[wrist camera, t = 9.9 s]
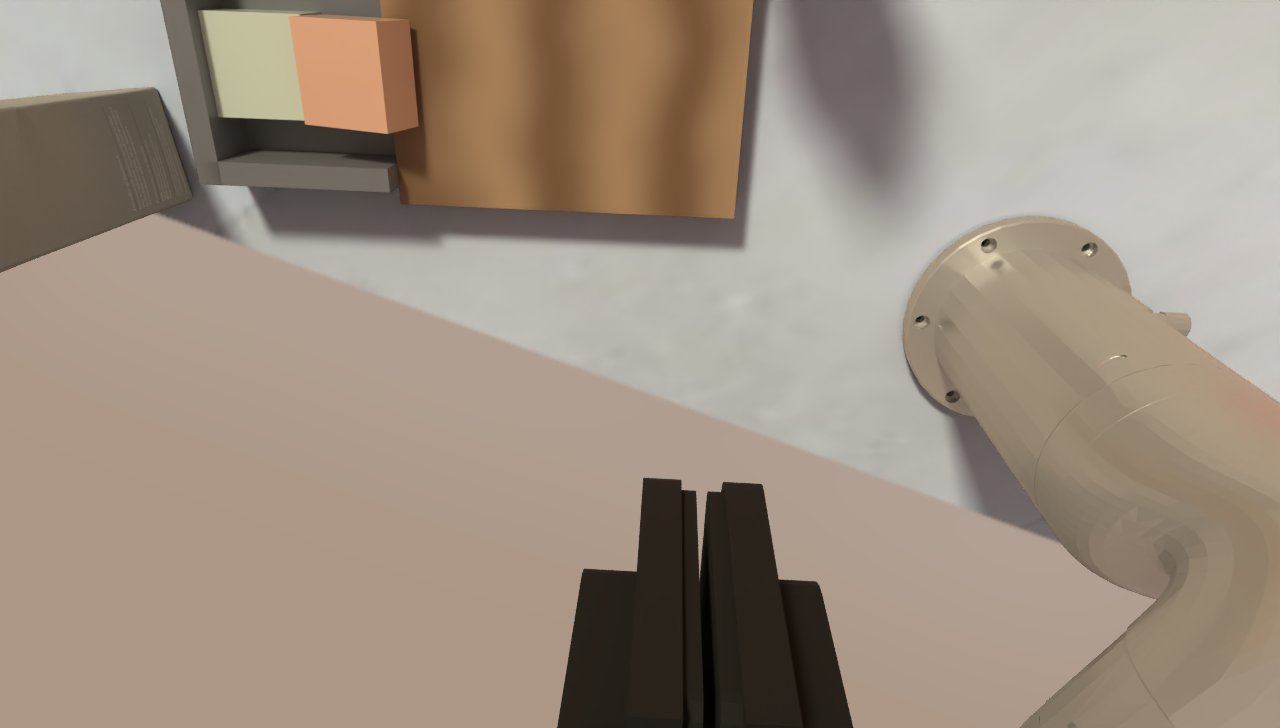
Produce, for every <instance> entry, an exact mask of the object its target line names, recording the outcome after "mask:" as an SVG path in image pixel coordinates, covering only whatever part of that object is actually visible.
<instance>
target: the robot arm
mask: <svg viewBox="0 0 1280 728" xmlns="http://www.w3.org/2000/svg"><path fill="white" fill-rule="evenodd" d="M985 239H987V242H986V243H985V244H983V245H981V243H982V242H983V241H984V240H985ZM1085 244H1086V246H1085V247H1084V248H1083V249H1082V247H1083V246H1084V245H1085ZM919 316H922V317H921V319H919V320H916V318H918V317H919ZM1190 329H1191V319H1190V317H1189V315H1188V314H1185V313H1171V312H1160V313H1153V311H1152V310H1151V309H1150V308H1149V307H1147V306H1146V305H1144V304H1143V303H1141V302H1140V301H1139V300H1137V299H1136V298H1134V297H1133V296H1132V295H1131V286H1130V282H1129V279H1128V275H1127V272H1126V270H1125V268H1124V266H1123V264H1122V263H1121V261H1120V259H1119V257H1118V256H1117V254H1116V253H1115V252H1114V251H1113V250H1112V249H1111V248H1110V247H1109V246H1108V245H1107V244H1106V243H1105V242H1104V241H1103V240H1102V239H1100V238H1099V237H1097V236H1096V235H1094V234H1093V233H1091V232H1090V231H1088V230H1086V229H1084V228H1082V227H1080V226H1078V225H1076V224H1074V223H1072V222H1068V221H1064V220H1060V219H1056V218H1052V217H1036V216H1026V217H1019V218H1011V219H1005V220H1002V221H999V222H996V223H992V224H989V225H986V226H983V227H981V228H979V229H977V230H975V231H973V232H971V233H969V234H967V235H965V236H963V237H962V238H961V239H959V240H958V241H956V242H955V243H954V244H952V245H951V246H950V247H948V248H947V249H945V250H944V251H943V252H942V253H941V254H940V255H939V256H938V257H937V258H936V259H935V260H934V261H933V262H932V263H931V264H930V265H929V267H928V268H927V269H926V271H925V272H924V274H923V275H922V277H921V278H920V279H919V281H918V282H917V284H916V286H915V288H914V290H913V292H912V295H911V297H910V299H909V301H908V304H907V308H906V312H905V316H904V320H903V343H904V348H905V354H906V358H907V360H908V362H909V365H910V367H911V369H912V372H913V373H914V375H915V376H916V378H917V379H918V381H919V383H920V384H921V386H922V387H923V388H924V389H925V390H926V391H927V392H928V393H929V394H930V396H931V397H932V398H934V399H935V400H936V401H938V402H939V403H940V404H942V405H943V406H945V407H946V408H948V409H951V410H953V411H955V412H958V413H960V414H962V415H966V416H970V417H974V418H976V419H977V421H978V422H979V424H980V425H981V427H982V428H983V430H984V431H985V433H986V434H987V436H988V437H989V439H990V440H991V442H992V443H993V445H994V446H995V448H996V449H997V451H998V452H999V454H1000V455H1001V456H1002V458H1003V459H1004V461H1005V462H1006V464H1007V465H1008V467H1009V468H1010V470H1011V471H1012V473H1013V474H1014V476H1015V477H1016V479H1017V480H1018V482H1019V483H1020V485H1021V486H1022V488H1023V489H1024V491H1025V492H1026V494H1027V495H1028V496H1029V498H1030V499H1031V501H1032V502H1033V504H1034V505H1035V507H1036V508H1037V510H1038V511H1039V513H1040V514H1041V516H1042V517H1043V519H1044V520H1045V521H1046V523H1047V524H1048V525H1049V527H1050V528H1051V530H1052V531H1053V533H1054V534H1055V536H1056V537H1057V539H1058V540H1059V541H1060V542H1061V543H1062V545H1063V546H1064V547H1065V548H1066V549H1067V550H1068V552H1069V553H1070V554H1071V555H1072V556H1073V557H1074V558H1075V559H1077V560H1078V561H1079V562H1080V563H1081V564H1082V565H1083V566H1085V567H1086V568H1087V569H1089V570H1090V571H1092V572H1093V573H1095V574H1097V575H1098V576H1100V577H1102V578H1103V579H1105V580H1107V581H1109V582H1111V583H1113V584H1115V585H1117V586H1119V587H1121V588H1124V589H1127V590H1130V591H1132V592H1135V593H1138V594H1141V595H1143V596H1147V597H1150V598H1153V599H1157V600H1156V601H1155V602H1154V603H1153V604H1152V605H1151V606H1150V607H1149V608H1148V609H1147V610H1146V611H1145V612H1144V613H1143V614H1142V615H1141V616H1140V617H1138V618H1137V619H1136V620H1135V621H1134V622H1133V623H1132V624H1131V625H1130V626H1129V627H1128V629H1127V631H1126V632H1125V633H1124V634H1122V635H1121V636H1120V637H1119V638H1118V639H1117V640H1116V641H1114V642H1113V643H1112V644H1111V645H1110V646H1109V647H1108V648H1107V649H1105V650H1104V651H1103V652H1102V653H1101V654H1100V655H1099V656H1097V657H1096V658H1095V659H1094V660H1093V661H1092V662H1091V663H1090V664H1088V665H1087V666H1086V667H1085V668H1084V669H1083V670H1082V671H1081V672H1079V673H1078V674H1077V675H1076V676H1075V677H1074V678H1072V679H1071V680H1070V681H1069V682H1068V683H1067V684H1066V685H1065V686H1064V687H1062V688H1061V689H1060V690H1059V691H1058V692H1057V693H1055V694H1054V695H1053V696H1052V697H1051V698H1050V699H1049V700H1048V701H1046V703H1045V704H1044V705H1043V706H1042V707H1041V708H1040V709H1039V710H1037V711H1036V712H1035V713H1034V714H1033V715H1032V716H1031V717H1030V718H1029V719H1028V720H1027V721H1026V722H1025V723H1024V724H1023V725H1022V726H1021V727H1020V728H1280V403H1279V402H1278V401H1276V400H1275V399H1274V398H1272V397H1271V396H1269V395H1268V394H1266V393H1265V392H1264V391H1262V390H1261V389H1259V388H1258V387H1257V386H1255V385H1254V384H1252V383H1251V382H1249V381H1248V380H1246V379H1245V378H1243V377H1242V376H1240V375H1239V374H1237V373H1236V372H1235V371H1233V370H1232V369H1230V368H1229V367H1227V366H1226V365H1225V364H1223V363H1222V362H1220V361H1219V360H1218V359H1216V358H1215V357H1213V356H1212V355H1211V354H1209V353H1208V352H1206V351H1205V350H1203V349H1202V348H1201V347H1199V346H1198V345H1196V344H1195V343H1194V342H1192V341H1191V340H1189V339H1188V338H1187V337H1185V336H1187V335H1188V333H1189V332H1190ZM950 391H951V392H950ZM948 392H949V393H948ZM696 503H697V502H696V491H688V490H681V480H675V479H656V478H643V491H642V505H641V520H640V535H639V550H638V564H637V572H632V571H614V570H596V569H584V570H583V573H582V578H581V583H580V590H579V596H578V602H577V608H576V615H575V621H574V627H573V633H572V640H571V645H570V652H569V658H568V665H567V671H566V677H565V683H564V689H563V696H562V702H561V708H560V714H559V720H558V727H557V728H853V725H852V720H851V716H850V712H849V708H848V703H847V699H846V695H845V690H844V686H843V682H842V678H841V674H840V669H839V665H838V660H837V656H836V652H835V648H834V643H833V639H832V635H831V631H830V626H829V622H828V618H827V613H826V609H825V605H824V601H823V597H822V593H821V589H820V586H819V585H818V583H817V582H814V581H795V580H779V579H778V574H777V568H776V562H775V556H774V550H773V544H772V538H771V532H770V526H769V520H768V514H767V508H766V503H765V496H764V490H763V486H762V484H751V483H731V482H723V485H722V490H721V492H708V493H707V501H706V513H705V524H704V536H703V547H702V559H701V571H700V582H699V560H698V533H697V532H698V531H697V504H696Z"/></svg>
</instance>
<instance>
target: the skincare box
mask: <svg viewBox="0 0 1280 728" xmlns="http://www.w3.org/2000/svg"><path fill="white" fill-rule="evenodd" d="M191 197H192V193H191V190H190V187H189V184H188V181H187V178H186V175H185V172H184V170H183V167H182V164H181V161H180V158H179V155H178V152H177V149H176V146H175V143H174V139H173V136H172V133H171V130H170V127H169V124H168V120H167V118H166V115H165V112H164V109H163V106H162V103H161V100H160V97H159V95H158V92H157V90H156V89H155V88H154V87H147V88H132V89H119V90H106V91H94V92H81V93H65V94H55V95H46V96H36V97H27V98H17V99H7V100H0V273H1V272H3V271H6V270H8V269H11V268H13V267H16V266H18V265H21V264H23V263H26V262H28V261H31V260H33V259H36V258H38V257H41V256H43V255H46V254H49V253H51V252H54V251H57V250H59V249H62V248H65V247H67V246H70V245H73V244H75V243H78V242H80V241H83V240H86V239H88V238H91V237H93V236H96V235H99V234H101V233H104V232H107V231H109V230H112V229H114V228H117V227H119V226H122V225H125V224H127V223H130V222H132V221H135V220H138V219H141V218H144V217H146V216H148V215H151V214H154V213H156V212H159V211H161V210H164V209H167V208H170V207H172V206H175V205H178V204H180V203H183V202H185V201H189V200H190V199H191Z"/></svg>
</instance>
